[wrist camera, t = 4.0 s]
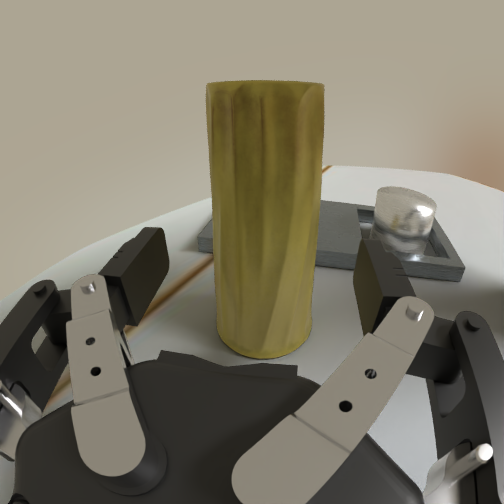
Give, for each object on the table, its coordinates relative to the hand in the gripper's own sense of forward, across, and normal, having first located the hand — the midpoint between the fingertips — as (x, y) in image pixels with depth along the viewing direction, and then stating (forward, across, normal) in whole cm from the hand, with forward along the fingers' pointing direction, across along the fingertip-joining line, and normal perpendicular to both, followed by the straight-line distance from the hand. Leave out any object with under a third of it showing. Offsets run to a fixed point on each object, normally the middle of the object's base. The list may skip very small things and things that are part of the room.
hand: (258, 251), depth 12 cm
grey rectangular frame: (+16, -6, +8) cm, 19 cm away
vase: (+4, 0, +8) cm, 9 cm away
